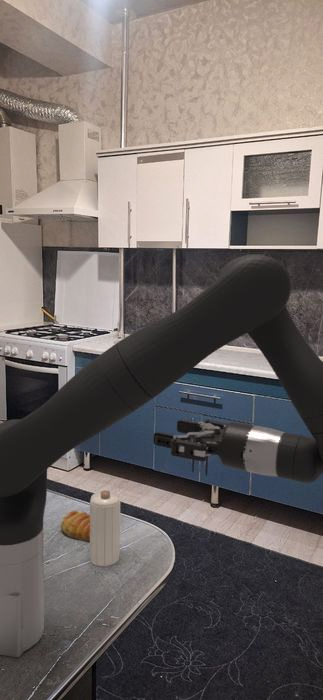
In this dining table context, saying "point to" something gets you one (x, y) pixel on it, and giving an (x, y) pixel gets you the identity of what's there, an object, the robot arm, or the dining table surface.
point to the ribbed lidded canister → (104, 528)
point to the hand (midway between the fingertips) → (166, 431)
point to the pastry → (77, 525)
